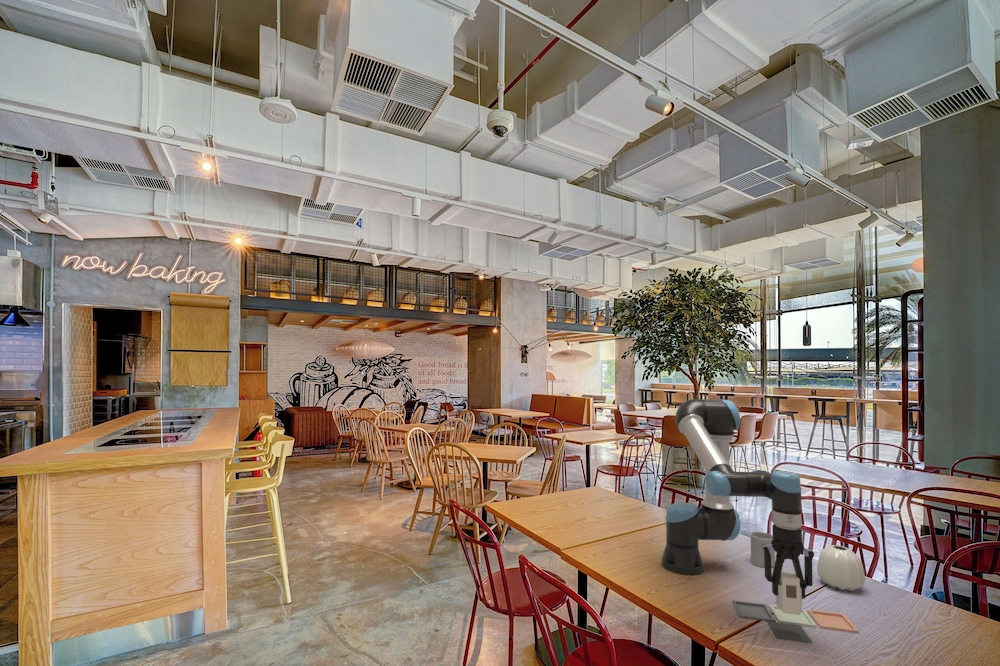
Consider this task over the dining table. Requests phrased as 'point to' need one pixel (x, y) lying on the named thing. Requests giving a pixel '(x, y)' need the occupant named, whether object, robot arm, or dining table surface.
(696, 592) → the dining table surface
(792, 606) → the letter block
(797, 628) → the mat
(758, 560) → the mug
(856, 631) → the tray terracotta
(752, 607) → the tray charcoal
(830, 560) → the vase
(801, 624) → the tray sage
